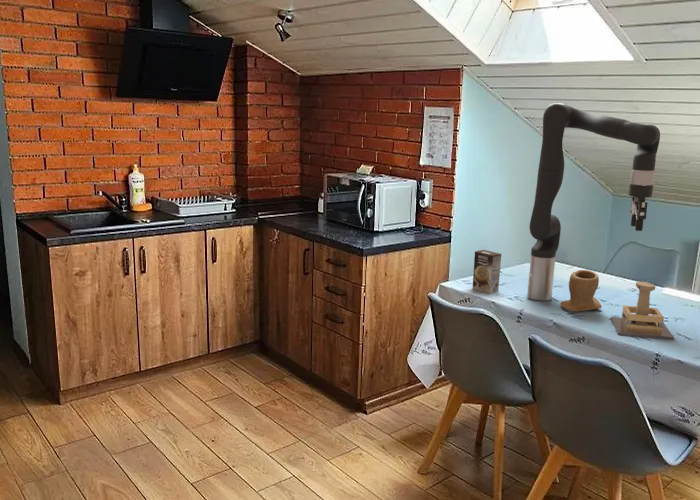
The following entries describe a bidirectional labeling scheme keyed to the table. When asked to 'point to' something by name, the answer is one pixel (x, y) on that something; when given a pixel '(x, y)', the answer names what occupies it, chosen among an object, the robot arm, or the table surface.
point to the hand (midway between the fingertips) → (636, 228)
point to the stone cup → (582, 291)
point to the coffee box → (486, 271)
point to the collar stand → (650, 330)
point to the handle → (643, 299)
